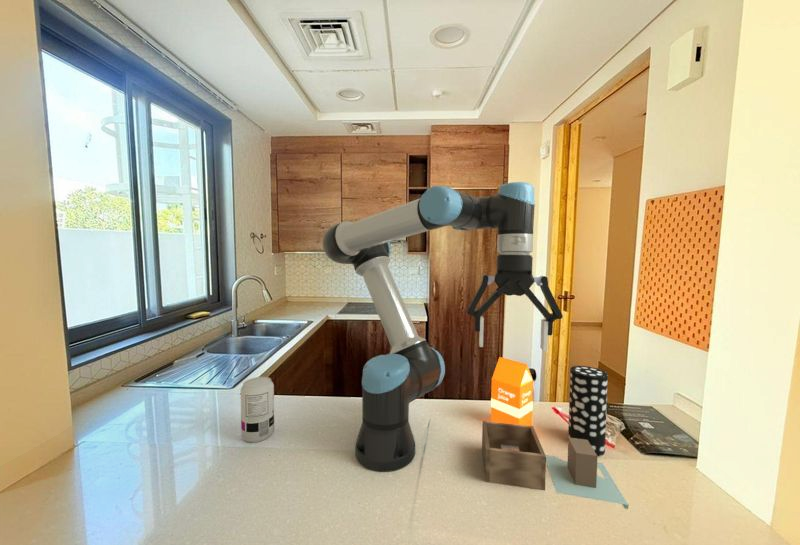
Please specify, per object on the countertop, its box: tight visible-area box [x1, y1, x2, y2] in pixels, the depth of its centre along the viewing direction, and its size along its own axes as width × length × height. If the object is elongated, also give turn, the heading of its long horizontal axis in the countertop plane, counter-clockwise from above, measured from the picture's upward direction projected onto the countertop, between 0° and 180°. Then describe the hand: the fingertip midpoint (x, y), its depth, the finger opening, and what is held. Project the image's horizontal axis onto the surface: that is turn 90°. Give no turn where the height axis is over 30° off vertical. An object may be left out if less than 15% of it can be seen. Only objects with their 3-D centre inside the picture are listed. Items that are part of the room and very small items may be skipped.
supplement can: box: [240, 376, 275, 443], centre depth 85 cm, size 8×8×15 cm
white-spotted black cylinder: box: [567, 365, 609, 457], centre depth 81 cm, size 8×8×20 cm
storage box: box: [481, 420, 547, 491], centre depth 72 cm, size 12×12×8 cm
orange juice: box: [490, 356, 534, 426], centre depth 90 cm, size 8×9×20 cm
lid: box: [545, 436, 629, 510], centre depth 69 cm, size 13×13×8 cm
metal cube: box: [501, 445, 520, 451], centre depth 72 cm, size 4×4×4 cm
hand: (511, 347), depth 71 cm, fingers open, 13 cm apart
